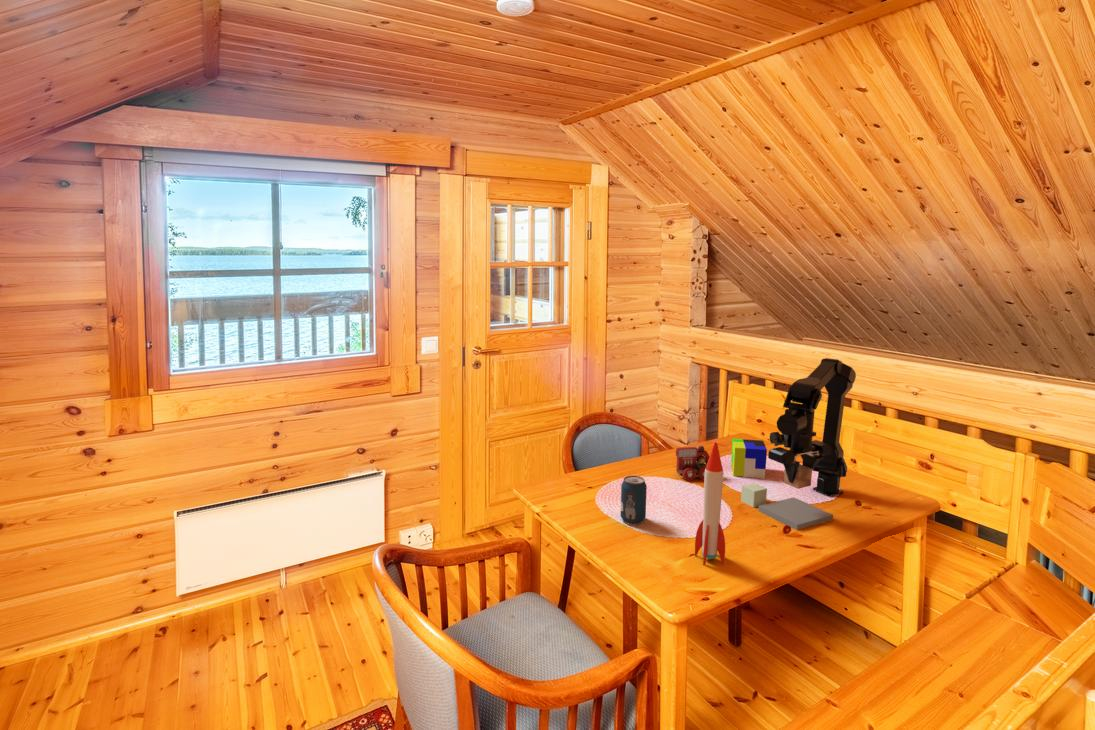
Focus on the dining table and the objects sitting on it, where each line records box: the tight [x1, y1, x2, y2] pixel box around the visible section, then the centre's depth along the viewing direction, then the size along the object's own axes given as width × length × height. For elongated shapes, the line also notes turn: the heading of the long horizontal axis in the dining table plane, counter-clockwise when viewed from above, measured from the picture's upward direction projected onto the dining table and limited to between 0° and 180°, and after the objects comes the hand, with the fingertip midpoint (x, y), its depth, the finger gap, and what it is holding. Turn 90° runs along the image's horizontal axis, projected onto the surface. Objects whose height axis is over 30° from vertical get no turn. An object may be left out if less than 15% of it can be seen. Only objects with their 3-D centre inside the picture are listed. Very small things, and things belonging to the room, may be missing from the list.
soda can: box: [620, 475, 648, 525], centre depth 176 cm, size 7×7×12 cm
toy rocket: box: [694, 441, 726, 566], centre depth 153 cm, size 6×6×30 cm
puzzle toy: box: [730, 438, 768, 479], centre depth 214 cm, size 10×10×10 cm
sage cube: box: [740, 482, 768, 508], centre depth 189 cm, size 5×5×5 cm
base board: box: [758, 497, 834, 531], centre depth 181 cm, size 14×14×2 cm
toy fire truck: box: [675, 445, 710, 482], centre depth 210 cm, size 7×12×10 cm, turn 100°
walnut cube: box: [783, 463, 813, 490], centre depth 179 cm, size 5×5×5 cm
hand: (797, 480), depth 179 cm, fingers closed on walnut cube, 5 cm apart
